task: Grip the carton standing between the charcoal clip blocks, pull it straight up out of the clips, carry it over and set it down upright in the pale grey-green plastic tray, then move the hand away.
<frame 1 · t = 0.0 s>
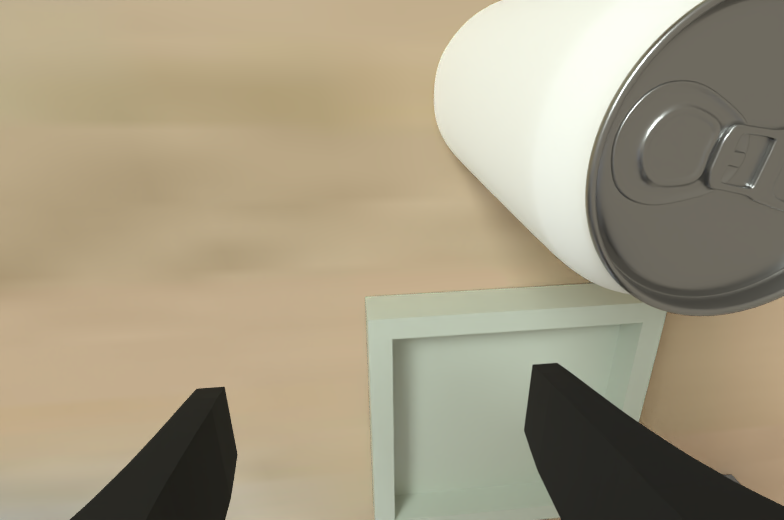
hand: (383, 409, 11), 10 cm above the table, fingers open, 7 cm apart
tray: (496, 401, 25), on the table
can: (512, 91, 19), on the table
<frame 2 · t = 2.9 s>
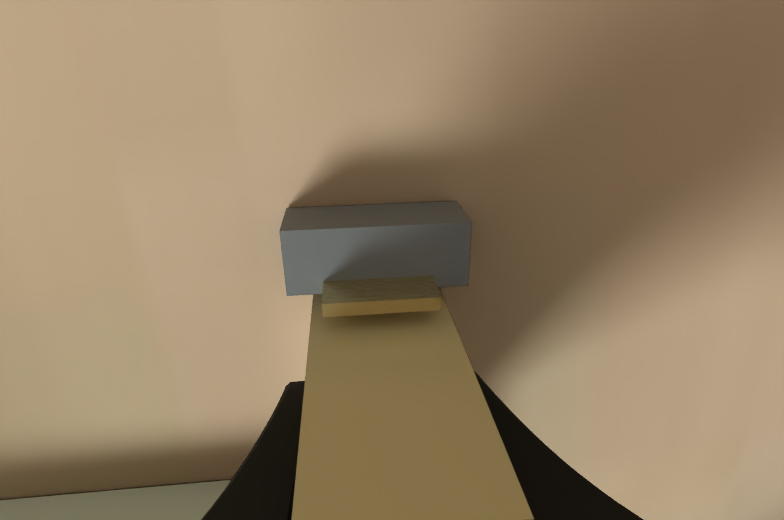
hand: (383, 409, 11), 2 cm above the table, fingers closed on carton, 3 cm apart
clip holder: (377, 358, 13), on the table
carton: (377, 358, 13), on the table, touching gripper
when the fingers open (4 cm above the table, at t = 7.0 s): carton drops 1 cm, resting on tray.
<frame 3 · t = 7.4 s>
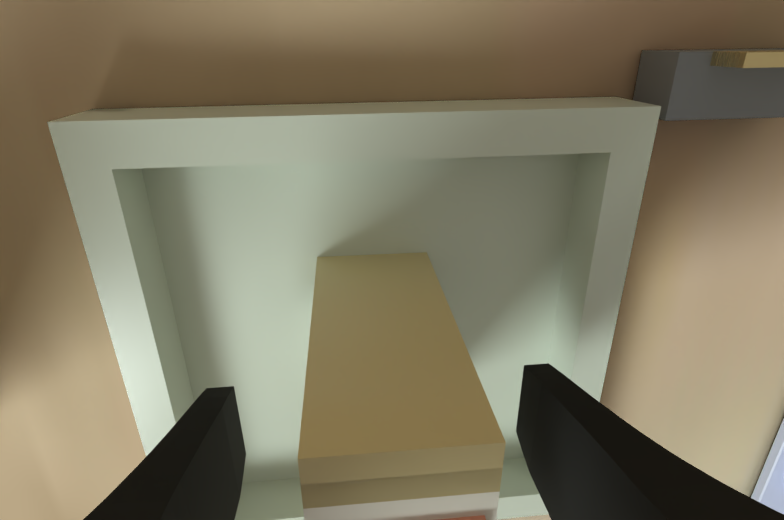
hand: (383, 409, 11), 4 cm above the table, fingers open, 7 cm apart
carton: (374, 332, 14), resting on tray
tray: (373, 325, 15), on the table
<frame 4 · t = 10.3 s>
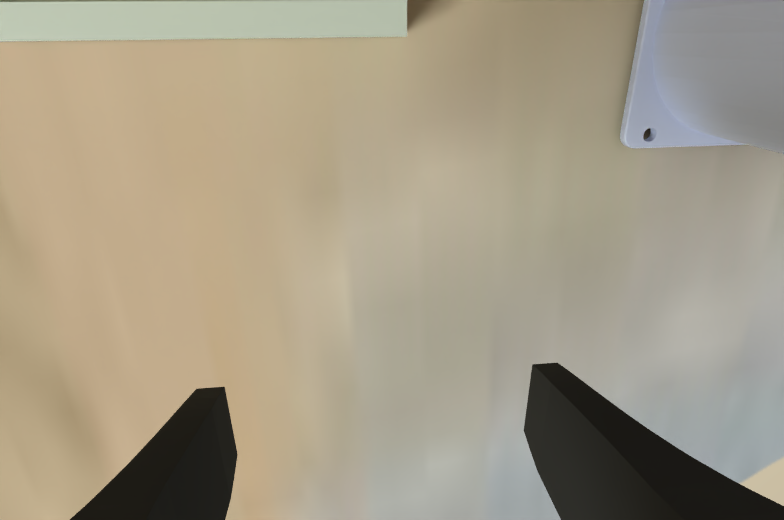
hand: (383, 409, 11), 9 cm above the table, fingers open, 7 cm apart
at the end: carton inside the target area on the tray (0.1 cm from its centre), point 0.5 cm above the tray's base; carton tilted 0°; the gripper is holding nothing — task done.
